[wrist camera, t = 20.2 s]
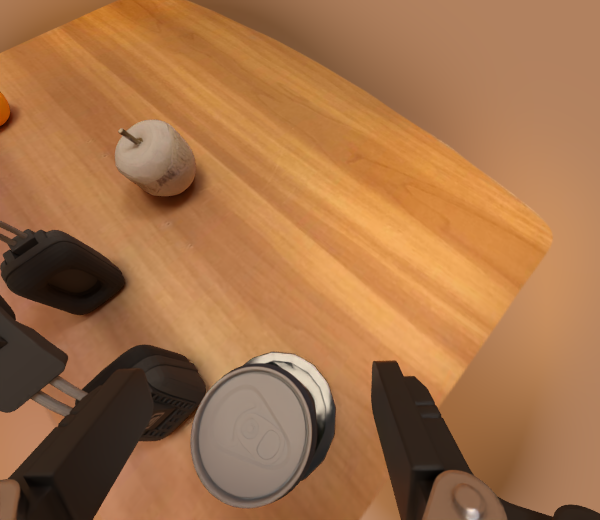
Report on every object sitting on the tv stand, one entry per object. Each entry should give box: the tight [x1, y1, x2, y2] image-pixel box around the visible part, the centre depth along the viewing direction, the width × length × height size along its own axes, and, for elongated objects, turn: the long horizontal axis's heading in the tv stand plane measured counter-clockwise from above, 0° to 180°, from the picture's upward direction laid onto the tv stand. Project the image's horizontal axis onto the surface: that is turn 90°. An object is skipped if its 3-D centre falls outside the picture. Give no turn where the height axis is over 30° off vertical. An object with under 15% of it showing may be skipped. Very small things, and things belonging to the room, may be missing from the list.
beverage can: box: [191, 363, 317, 508], centre depth 20 cm, size 6×6×15 cm
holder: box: [243, 352, 336, 481], centre depth 25 cm, size 9×9×6 cm
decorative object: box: [115, 120, 196, 196], centre depth 36 cm, size 9×9×10 cm
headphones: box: [0, 221, 206, 441], centre depth 22 cm, size 22×6×20 cm, turn 45°
